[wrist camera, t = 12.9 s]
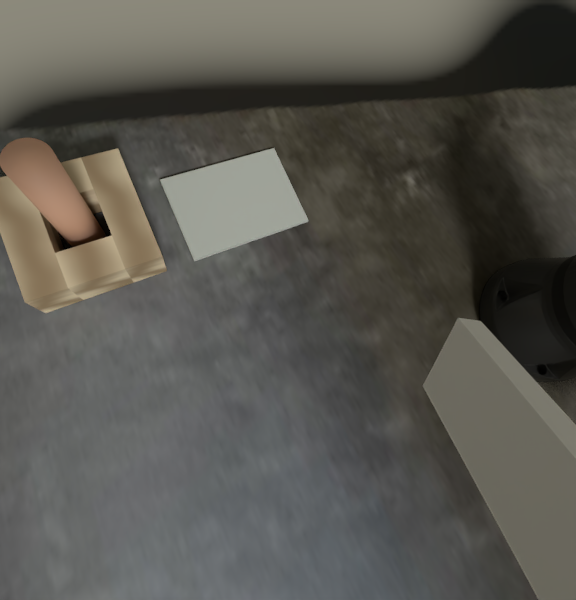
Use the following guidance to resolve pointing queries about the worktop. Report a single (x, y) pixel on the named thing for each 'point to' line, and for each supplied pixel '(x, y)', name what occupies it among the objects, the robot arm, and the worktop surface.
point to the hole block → (87, 257)
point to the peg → (50, 189)
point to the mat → (233, 203)
